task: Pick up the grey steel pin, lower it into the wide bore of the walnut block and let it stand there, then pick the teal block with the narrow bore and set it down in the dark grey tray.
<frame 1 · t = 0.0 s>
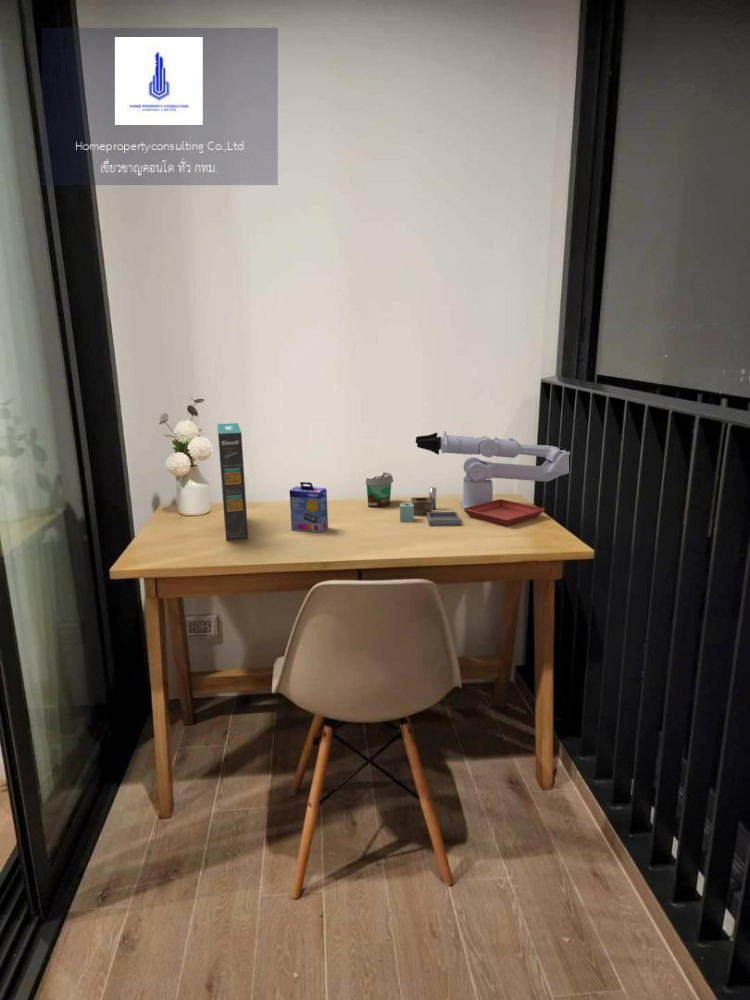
hand: (416, 441, 206), 22 cm above the table, tool horizontal, fingers open, 7 cm apart
steel pin: (432, 509, 208), on the table
tray: (443, 521, 193), on the table
cake mix box: (235, 529, 189), on the table
food container: (383, 505, 214), on the table
plant saucer: (503, 519, 197), on the table
teal block: (406, 520, 195), on the table
walnut block: (421, 513, 203), on the table
ink cartridge box: (309, 529, 188), on the table
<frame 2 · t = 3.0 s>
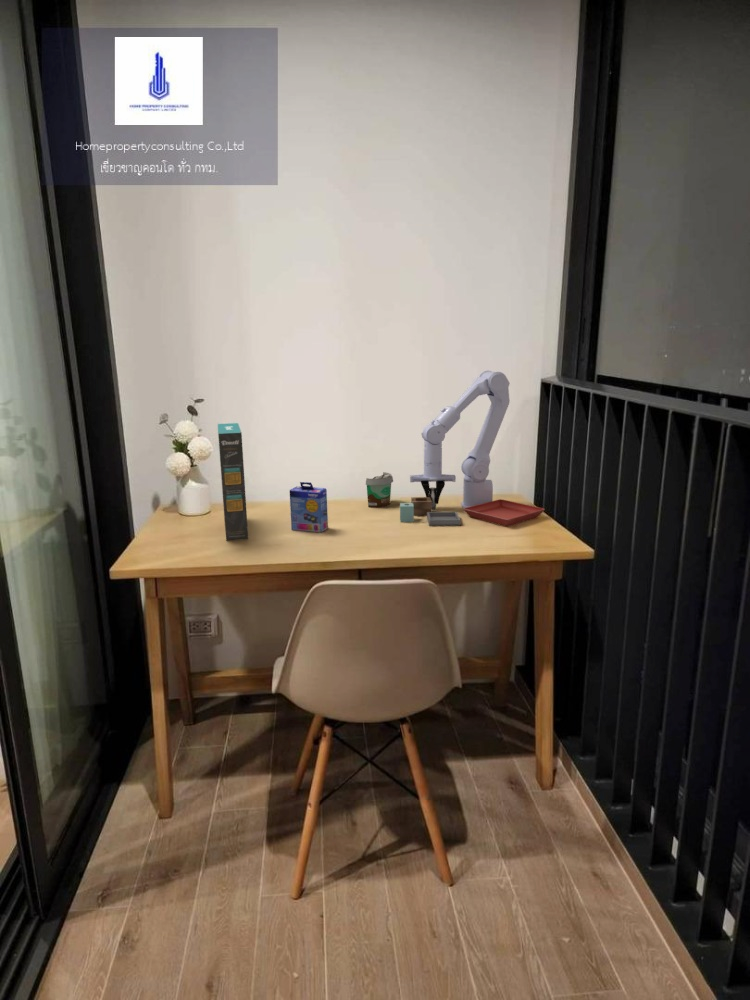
hand: (432, 503, 208), 2 cm above the table, tool pointing down, fingers closed on steel pin, 2 cm apart
steel pin: (432, 509, 208), on the table, touching gripper
everything else where it was.
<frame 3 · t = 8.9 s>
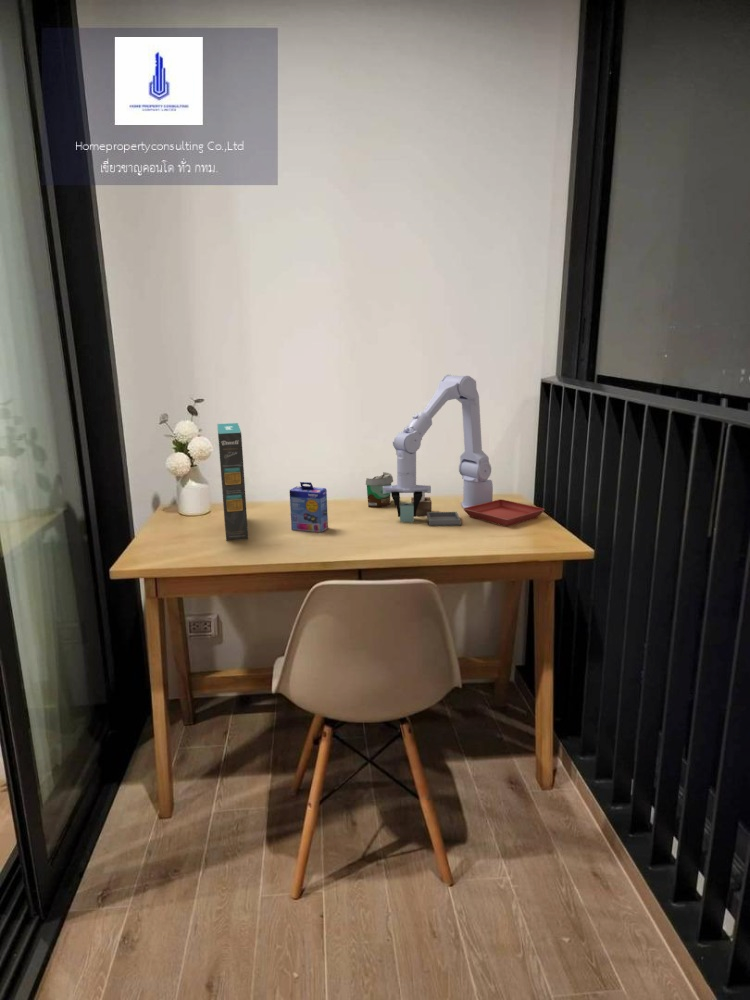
hand: (406, 515, 195), 1 cm above the table, tool pointing down, fingers closed on teal block, 4 cm apart
steel pin: (421, 513, 203), resting in walnut block
teal block: (406, 520, 195), on the table, touching gripper
everything else where it was.
when the fingers open (3 cm above the table, at t = 12.3 s): teal block moves 1 cm and tips over, resting on tray.
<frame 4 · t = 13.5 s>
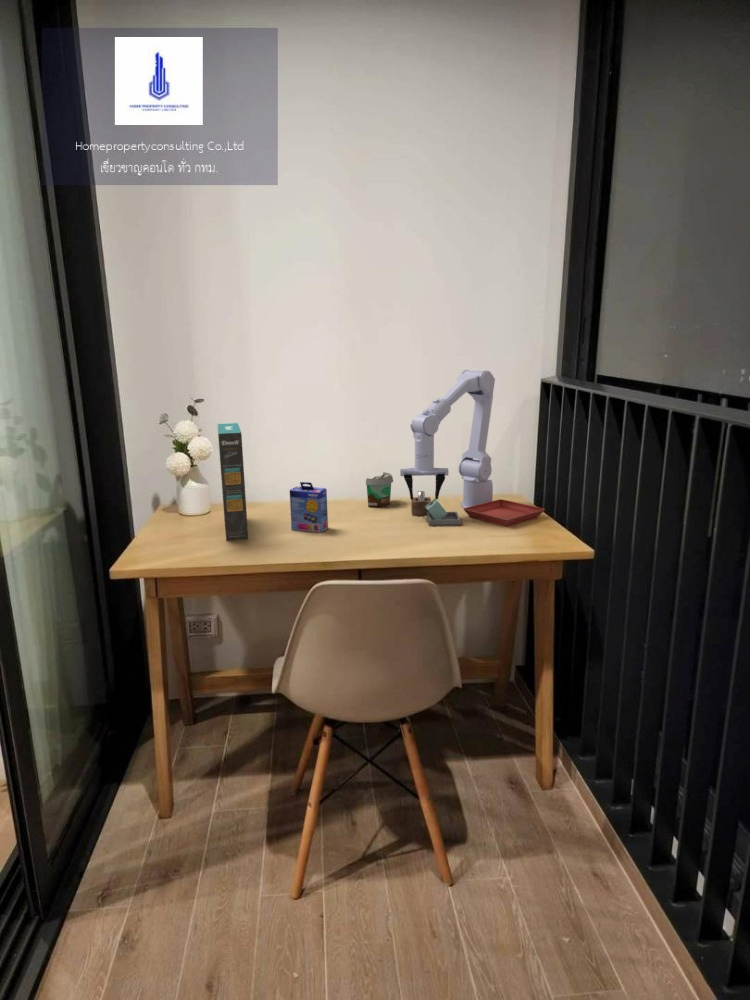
hand: (424, 498, 195), 6 cm above the table, tool pointing down, fingers open, 7 cm apart
teal block: (441, 516, 193), point 2 cm above the table, tilted 37°, touching tray
everything else where it was.
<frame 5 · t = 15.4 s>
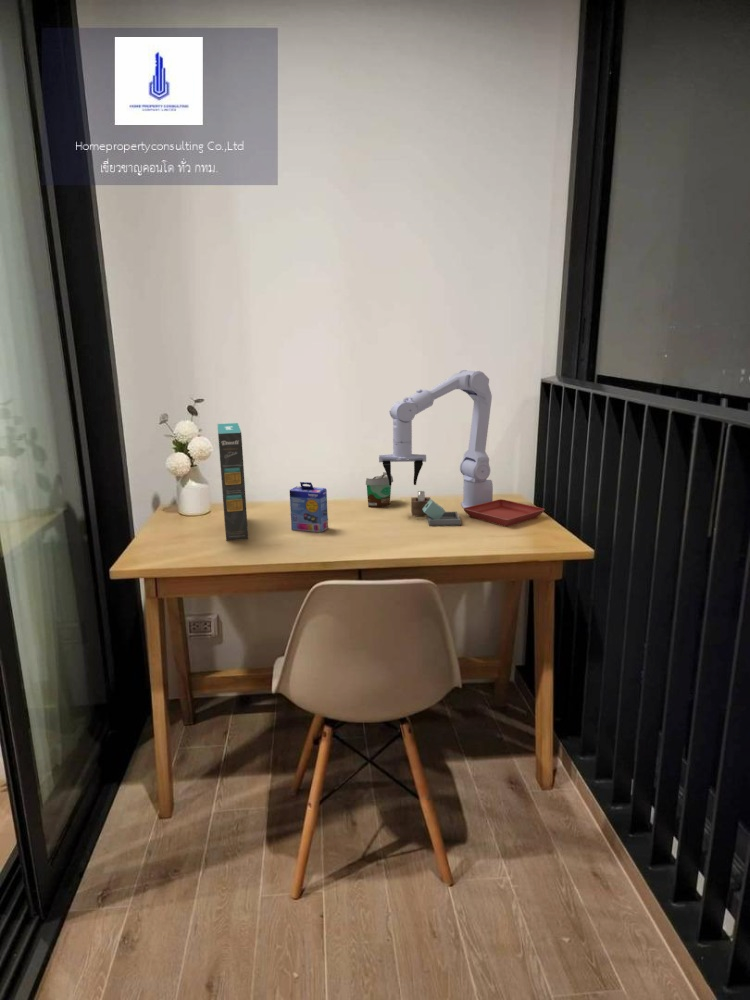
hand: (402, 484, 199), 10 cm above the table, tool pointing down, fingers open, 7 cm apart
teal block: (440, 515, 193), point 2 cm above the table, tilted 52°, touching tray
everything else where it was.
at the end: teal block 1.0 cm off-centre on the tray, point 2.1 cm above the tray's base; steel pin 0.1 cm from the walnut block (horizontally); the gripper is holding nothing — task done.
